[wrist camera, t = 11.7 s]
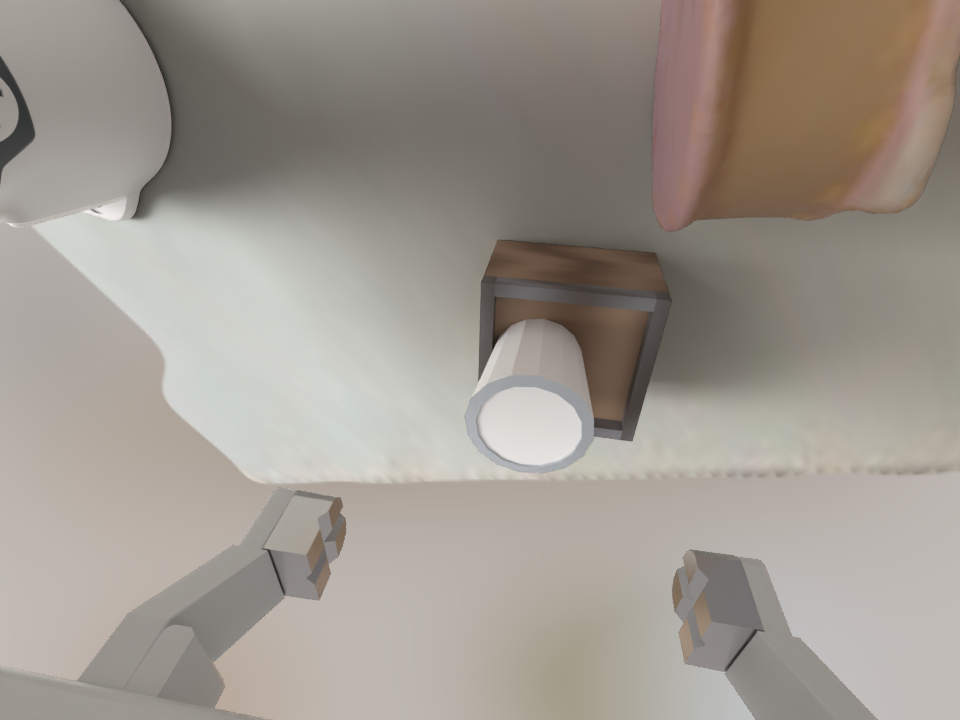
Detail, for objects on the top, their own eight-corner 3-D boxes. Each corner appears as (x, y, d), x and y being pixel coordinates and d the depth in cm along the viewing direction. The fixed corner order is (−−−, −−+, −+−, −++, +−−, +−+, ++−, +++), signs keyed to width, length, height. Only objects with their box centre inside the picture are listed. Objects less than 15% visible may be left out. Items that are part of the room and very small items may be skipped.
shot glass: (480, 389, 33) (460, 462, 27) (490, 301, 29) (468, 365, 24) (579, 406, 33) (580, 485, 27) (603, 319, 29) (609, 389, 23)
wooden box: (491, 364, 39) (477, 420, 34) (497, 239, 33) (481, 282, 28) (624, 380, 38) (632, 441, 32) (654, 253, 32) (672, 300, 26)
